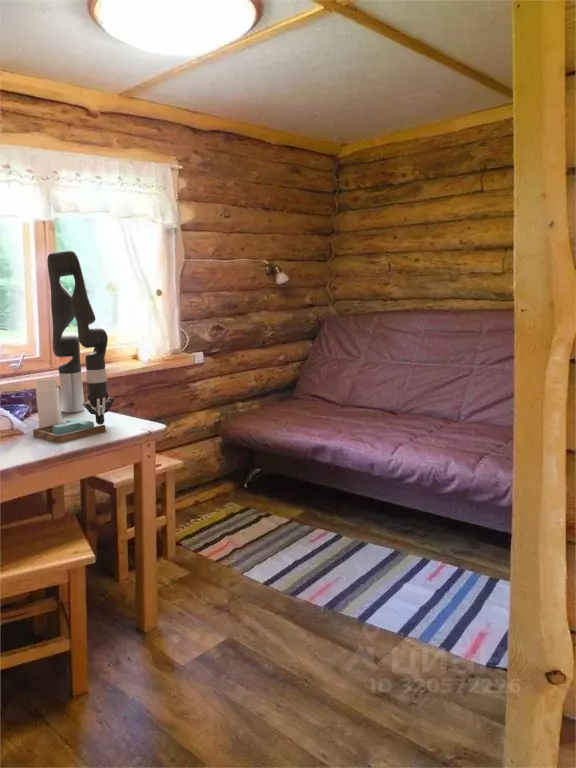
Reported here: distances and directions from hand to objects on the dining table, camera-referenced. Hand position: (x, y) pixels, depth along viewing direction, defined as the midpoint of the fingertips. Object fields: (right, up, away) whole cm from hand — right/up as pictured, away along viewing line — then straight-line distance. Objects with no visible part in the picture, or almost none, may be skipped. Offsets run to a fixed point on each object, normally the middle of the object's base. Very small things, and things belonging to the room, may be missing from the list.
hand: (100, 424), depth 235 cm
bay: (-8, -3, -10) cm, 13 cm away
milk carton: (-20, -1, +1) cm, 20 cm away
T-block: (-8, -3, -10) cm, 13 cm away
